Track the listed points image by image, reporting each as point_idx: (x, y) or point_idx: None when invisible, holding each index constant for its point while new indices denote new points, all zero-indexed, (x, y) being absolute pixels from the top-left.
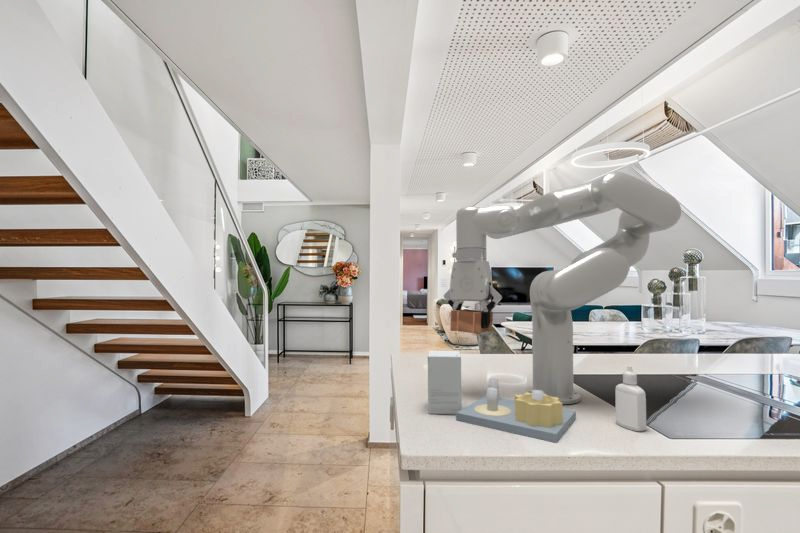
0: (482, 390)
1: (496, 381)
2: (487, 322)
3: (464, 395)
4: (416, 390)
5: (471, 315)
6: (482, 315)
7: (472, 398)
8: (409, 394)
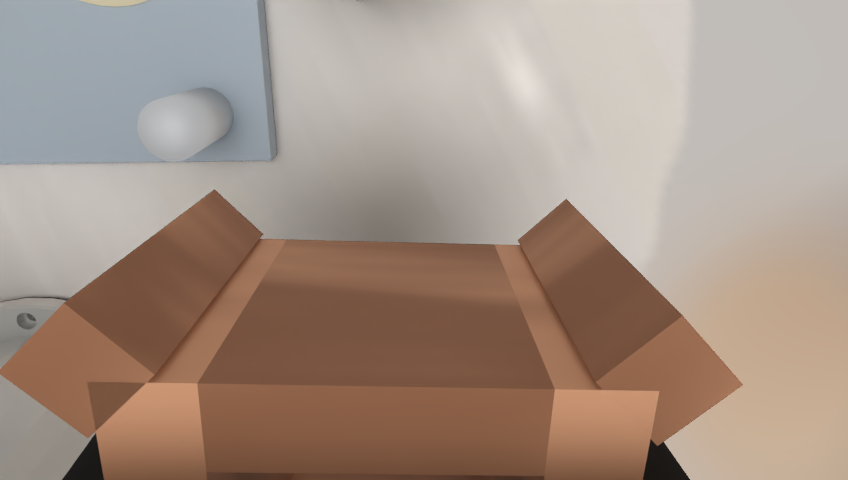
0: None
1: (141, 114)
2: (95, 436)
3: (423, 186)
4: (684, 113)
5: (256, 350)
6: (100, 467)
7: (363, 161)
8: (685, 17)
